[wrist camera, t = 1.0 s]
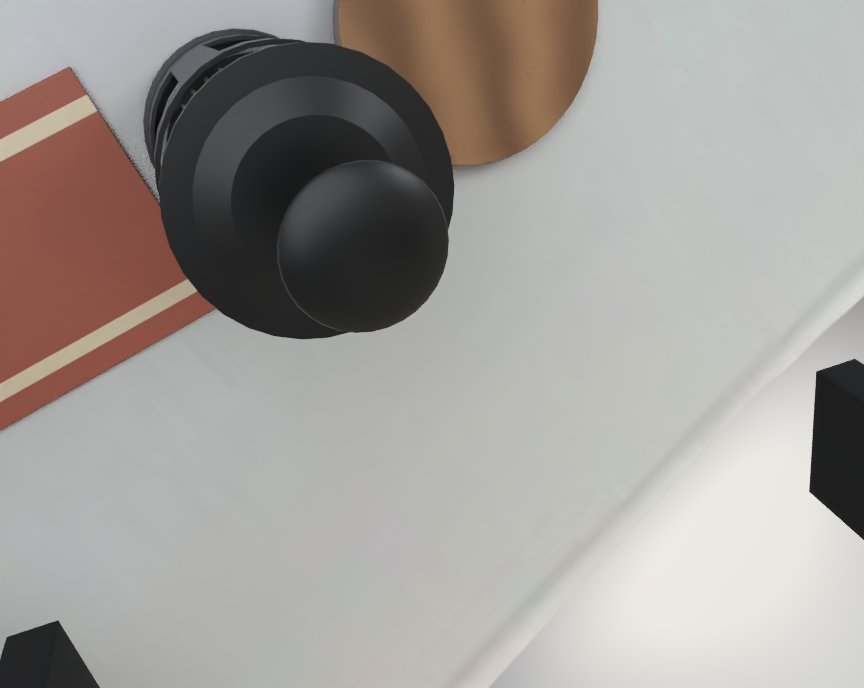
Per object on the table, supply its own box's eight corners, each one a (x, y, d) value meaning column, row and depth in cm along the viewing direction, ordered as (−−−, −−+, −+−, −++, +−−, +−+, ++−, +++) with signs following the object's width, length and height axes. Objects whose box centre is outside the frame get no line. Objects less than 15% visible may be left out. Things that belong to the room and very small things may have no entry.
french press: (87, 102, 35) (27, 207, 15) (246, -29, 35) (392, -92, 16) (257, 285, 41) (376, 537, 21) (393, 172, 41) (638, 314, 21)
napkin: (-4, 430, 39) (-5, 433, 39) (-208, 208, 33) (-211, 210, 33) (223, 302, 41) (224, 304, 40) (69, 66, 35) (68, 66, 34)
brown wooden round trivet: (406, 208, 42) (413, 213, 41) (279, -55, 36) (284, -58, 35) (617, 88, 44) (629, 89, 43) (535, -186, 37) (546, -192, 36)
